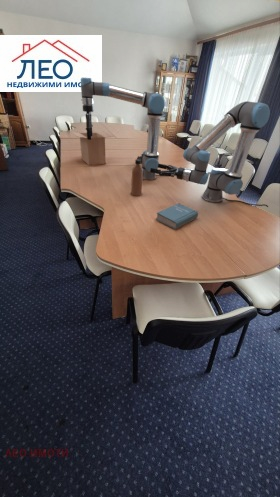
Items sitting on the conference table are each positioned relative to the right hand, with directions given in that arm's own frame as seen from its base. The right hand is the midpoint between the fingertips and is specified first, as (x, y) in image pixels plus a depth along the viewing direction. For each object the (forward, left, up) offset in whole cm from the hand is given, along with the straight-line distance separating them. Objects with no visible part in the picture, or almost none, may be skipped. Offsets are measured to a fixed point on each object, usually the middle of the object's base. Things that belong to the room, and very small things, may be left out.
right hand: (154, 167), depth 152 cm
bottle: (+12, -9, -24) cm, 28 cm away
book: (-16, +28, -24) cm, 40 cm away
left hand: (+50, -32, +10) cm, 60 cm away
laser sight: (+2, -97, -24) cm, 99 cm away
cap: (+12, -9, +2) cm, 15 cm away
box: (+60, -91, -24) cm, 111 cm away
